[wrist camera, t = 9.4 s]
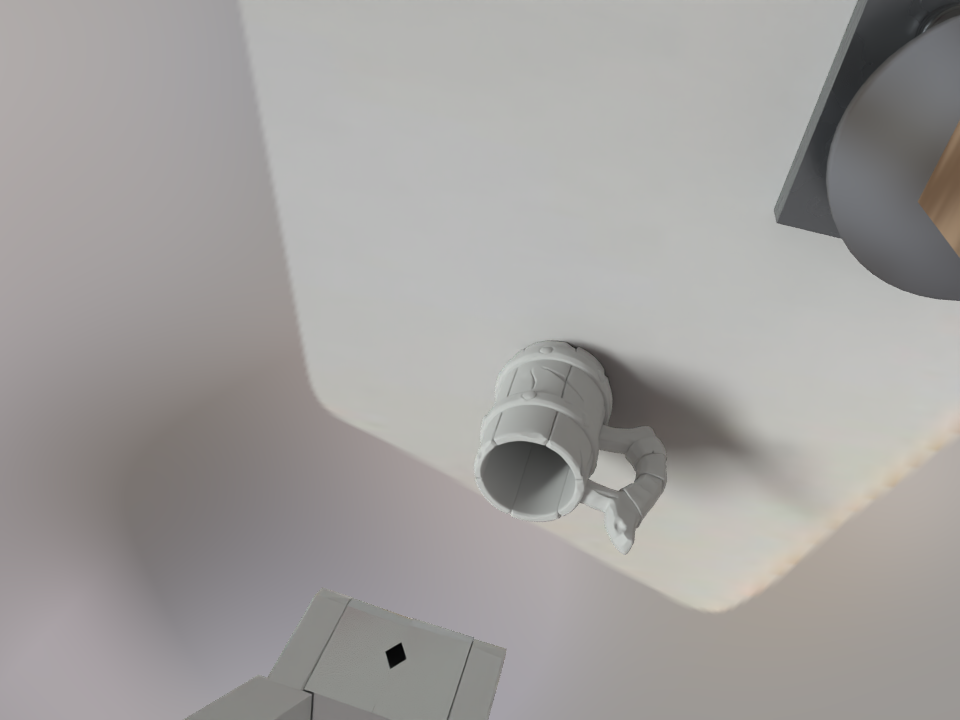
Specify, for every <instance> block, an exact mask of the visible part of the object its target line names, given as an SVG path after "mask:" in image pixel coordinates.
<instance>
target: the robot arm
mask: <svg viewBox="0 0 960 720" xmlns="http://www.w3.org/2000/svg"><path fill="white" fill-rule="evenodd" d="M473 640H474V642H473ZM505 655H506V649H505V648H502V647H499V646H495V645H492V644H489V643H485V642H482V641H479V640H476V639H474V637H471V636H468V635H464V634H461V633H458V632H455V631H452V630H449V629H446V628H442V627H439V626H436V625H433V624H430V623H426V622H423V621H420V620H417V619H411V618H408V617H405V616H402V615H399V614H397V613H394V612H391V611H388V610H385V609H382V608H379V607H376V606H374V605H371V604H368V603H365V602H362V601H360V600H357V599H354V598H352V597H349V596H346V595H343V594H340V593H337V592H334V591H331V590H328V589H325V588H322V589H321V590H320V591H319V592H318V593H317V594H316V595H315V596H314V598H313V599H312V601H311V603H310V605H309V607H308V608H307V610H306V611H305V613H304V615H303V617H302V619H301V620H300V622H299V624H298V625H297V627H296V629H295V631H294V632H293V634H292V636H291V638H290V639H289V641H288V643H287V645H286V646H285V648H284V650H283V651H282V653H281V655H280V657H279V658H278V660H277V662H276V664H275V665H274V667H273V669H272V671H271V672H270V674H269V676H268V677H264V676H261V675H257V676H256V677H254V678H253V679H251V680H249V681H248V682H246V683H244V684H242V685H241V686H239V687H237V688H236V689H234V690H232V691H231V692H229V693H227V694H226V695H224V696H222V697H220V698H219V699H217V700H215V701H214V702H212V703H210V704H209V705H207V706H205V707H204V708H202V709H201V710H199V711H197V712H196V713H194V714H192V715H190V716H189V717H187V718H185V719H184V720H488V719H489V715H490V711H491V707H492V704H493V700H494V696H495V693H496V689H497V685H498V682H499V678H500V674H501V671H502V667H503V663H504V659H505Z"/></svg>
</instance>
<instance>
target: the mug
mask: <svg viewBox="0 0 960 720" xmlns="http://www.w3.org/2000/svg"><path fill="white" fill-rule="evenodd" d="M604 371H605V370H604V368H603V367H602V365H601V364H600V362H599V361H598V360H597V359H596V358H595V357H594V356H593V355H591V354H590V353H588V352H587V351H586V350H584V349H582V348H580V347H578V348H577V349H575V348H573V347H572V346H570V345H569V344H568V343H566V342H560V341H542V342H538V343H535V344H532V345H530V346H528V347H527V348H526V349H522V350H521V351H520V352H518V353H517V354H516V355H515V356H514V357H513V358H512V359H510V360H509V361H508V363H507V364H506V365H505V366H504V368H503V369H502V371H500V373H499V375H498V377H497V383H496V387H495V404H494V407H493V408H492V409H491V410H490V411H489V412H488V414H487V415H485V416H484V418H483V420H482V424H481V432H480V447H479V450H478V452H477V455H476V458H475V463H474V474H475V477H476V478H475V481H476V484H477V487H478V488H479V490H480V492H481V493H482V495H483V496H484V497H485V498H486V500H487V501H488V502H489V503H490V504H492V505H493V506H494V507H495V508H497V509H498V510H500V511H502V512H504V513H507V514H508V513H510V514H511V516H512V517H514V518H517V519H520V520H525V521H534V522H546V521H552V520H555V519H558V518H560V517H561V516H565V515H566V514H568V513H570V512H571V511H572V510H574V509H575V508H576V507H577V505H578V504H579V502H580V503H583V504H585V505H587V506H589V507H591V508H593V509H596V510H599V511H602V512H603V513H605V519H604V523H605V529H606V531H607V533H608V535H609V537H610V539H611V541H612V543H613V545H614V546H615V547H616V548H617V550H618V551H619V552H621V553H622V554H624V555H626V554H627V553H628V552H629V550H630V549H631V547H632V545H633V543H634V538H635V530H636V528H638V527H639V525H640V523H641V522H642V520H643V519H644V517H645V516H646V514H647V513H648V512H649V510H650V509H651V508H652V507H653V506H654V504H655V502H656V501H657V500H658V498H659V497H660V495H661V494H662V493H663V491H664V488H665V486H666V483H667V473H666V460H667V454H666V450H665V448H664V446H663V443H662V442H661V440H660V439H658V438H656V435H655V433H654V431H653V429H652V428H651V427H649V426H640V427H636V428H631V429H625V428H612V427H609V426H608V423H609V419H610V416H611V411H612V402H613V400H612V392H611V388H610V385H609V380H608V377H606V376H605V375H604ZM599 450H604V451H609V452H616V453H623V454H626V459H627V460H628V461H629V462H630V463H631V465H632V466H633V468H634V470H635V471H636V478H635V481H634V483H632V484H629V485H628V486H626V487H624V488H622V489H620V490H619V491H616V490H613V489H610V488H607V487H605V486H602V485H600V484H597V483H595V482H593V481H591V480H589V478H590V476H591V475H592V474H593V473H594V471H595V468H596V466H597V459H598V453H599ZM510 511H511V512H510Z"/></svg>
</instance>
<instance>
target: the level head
mask: <svg viewBox="0 0 960 720" xmlns="http://www.w3.org/2000/svg"><path fill="white" fill-rule="evenodd" d="M826 189H827V199H828V203H829V207H830V211H831V214H832V217H833V219H834V221H835V224H836V226H837V229H838V231H839V233H840V236H841V238H842V239H843V241H844V243H845V244H846V246H847V247H848V249H849V251H850V252H851V253H852V254H853V255H854V257H855V258H856V259H857V260H858V261H859V262H860V264H862V265H863V266H864V267H865V268H866V269H867V270H869V271H870V272H871V273H872V274H873V275H875V276H877V277H878V278H880V279H881V280H883V281H885V282H886V283H888V284H890V285H892V286H894V287H897V288H899V289H901V290H903V291H906V292H910V293H913V294H916V295H919V296H924V297H929V298H935V299H942V300H956V301H960V15H958V16H955V17H953V18H950V19H948V20H946V21H944V22H942V23H940V24H938V25H936V26H934V27H932V28H930V29H928V30H926V31H925V32H923V33H922V34H920V35H918V36H917V37H915V38H914V39H912V40H911V41H909V42H907V43H906V44H905V45H904V46H902V47H901V48H900V49H899V50H897V51H896V52H895V53H893V54H892V55H891V56H890V57H888V58H887V59H886V60H885V61H884V62H883V63H882V64H881V65H880V66H879V67H878V68H877V69H876V70H875V71H874V72H873V73H872V74H871V75H870V77H869V78H868V79H867V80H866V81H865V83H864V84H863V85H862V86H861V87H860V89H859V90H858V91H857V93H856V94H855V96H854V97H853V99H852V100H851V102H850V103H849V105H848V106H847V108H846V110H845V112H844V114H843V116H842V118H841V120H840V122H839V124H838V126H837V128H836V131H835V134H834V137H833V140H832V143H831V146H830V151H829V156H828V160H827V170H826Z"/></svg>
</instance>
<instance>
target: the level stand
mask: <svg viewBox="0 0 960 720" xmlns="http://www.w3.org/2000/svg"><path fill="white" fill-rule="evenodd" d="M958 15H960V0H858V2H857V4H856V7H855V9H854V12H853V14H852V17H851V19H850V22H849V24H848V27H847V29H846V32H845V34H844V37H843V39H842V42H841V44H840V47H839V49H838V52H837V54H836V57H835V59H834V62H833V64H832V67H831V69H830V71H829V74H828V76H827V79H826V81H825V84H824V86H823V89H822V91H821V94H820V96H819V99H818V101H817V104H816V106H815V109H814V111H813V114H812V116H811V119H810V121H809V124H808V126H807V129H806V131H805V134H804V136H803V139H802V141H801V144H800V146H799V149H798V151H797V154H796V156H795V159H794V161H793V164H792V166H791V169H790V171H789V174H788V176H787V179H786V181H785V184H784V186H783V189H782V191H781V194H780V196H779V199H778V201H777V203H776V206H775V208H774V213H775V217H776V222H777V223H779V224H783V225H787V226H792V227H796V228H800V229H804V230H808V231H812V232H816V233H820V234H825V235H829V236H833V237H837V238H841V236H840V233H839V231H838V229H837V226H836V224H835V221H834V219H833V217H832V214H831V211H830V207H829V203H828V199H827V189H826V170H827V160H828V156H829V151H830V146H831V143H832V140H833V137H834V134H835V131H836V128H837V126H838V124H839V122H840V120H841V118H842V116H843V114H844V112H845V110H846V108H847V106H848V105H849V103H850V102H851V100H852V99H853V97H854V96H855V94H856V93H857V91H858V90H859V89H860V87H861V86H862V85H863V84H864V83H865V81H866V80H867V79H868V78H869V77H870V75H871V74H872V73H873V72H874V71H875V70H876V69H877V68H878V67H879V66H880V65H881V64H882V63H883V62H884V61H885V60H886V59H887V58H888V57H890V56H891V55H892V54H893V53H895V52H896V51H897V50H899V49H900V48H901V47H902V46H904V45H905V44H906V43H907V42H909V41H911V40H912V39H914V38H915V37H917V36H918V35H920V34H922V33H923V32H925V31H926V30H928V29H930V28H932V27H934V26H936V25H938V24H940V23H942V22H944V21H946V20H948V19H950V18H953V17H955V16H958ZM841 239H842V238H841Z"/></svg>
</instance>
